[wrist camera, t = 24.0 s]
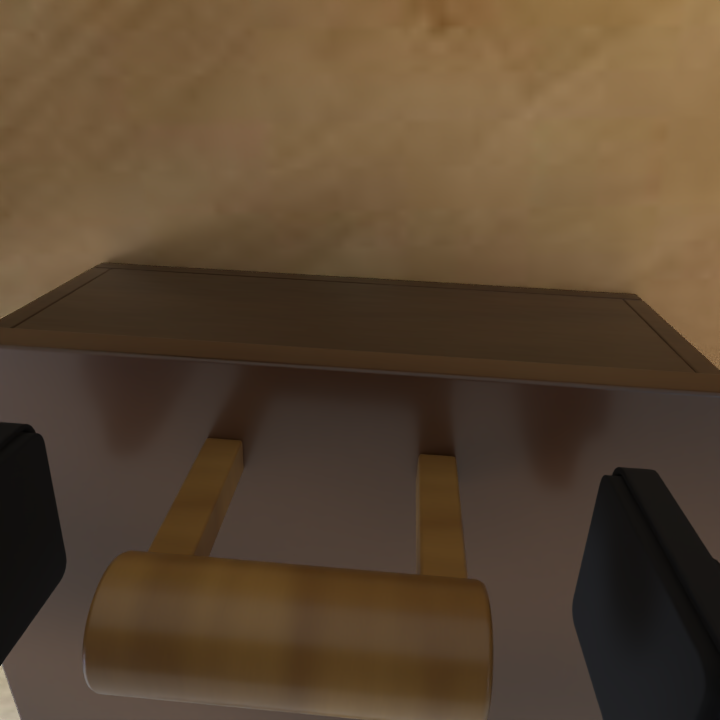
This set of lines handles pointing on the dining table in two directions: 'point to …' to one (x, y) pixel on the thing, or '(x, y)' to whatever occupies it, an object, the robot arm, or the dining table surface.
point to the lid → (329, 525)
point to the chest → (365, 316)
